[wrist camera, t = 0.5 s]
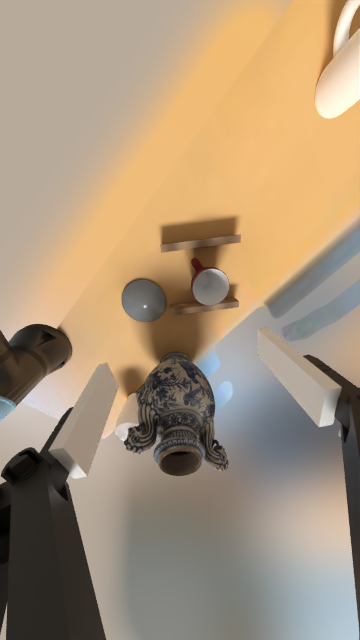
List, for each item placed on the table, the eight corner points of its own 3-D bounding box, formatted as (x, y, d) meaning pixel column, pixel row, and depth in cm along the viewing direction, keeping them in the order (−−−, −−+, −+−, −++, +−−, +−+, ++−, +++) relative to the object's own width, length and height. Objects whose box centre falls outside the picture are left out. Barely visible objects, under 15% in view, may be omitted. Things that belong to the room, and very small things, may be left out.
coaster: (128, 323, 49) (127, 324, 48) (117, 282, 44) (116, 283, 44) (168, 318, 49) (168, 319, 48) (162, 276, 44) (162, 277, 43)
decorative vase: (136, 378, 57) (108, 484, 31) (153, 332, 50) (137, 418, 25) (193, 392, 61) (211, 497, 35) (216, 352, 55) (258, 443, 29)
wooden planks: (171, 310, 48) (171, 315, 44) (161, 244, 41) (160, 244, 37) (233, 302, 48) (238, 307, 44) (234, 235, 41) (240, 234, 37)
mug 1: (175, 269, 43) (177, 275, 34) (201, 248, 42) (209, 249, 32) (199, 300, 47) (206, 312, 38) (223, 281, 45) (236, 290, 36)
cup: (140, 386, 58) (132, 418, 47) (154, 401, 62) (150, 435, 51) (119, 396, 60) (107, 429, 49) (134, 411, 63) (126, 445, 52)
